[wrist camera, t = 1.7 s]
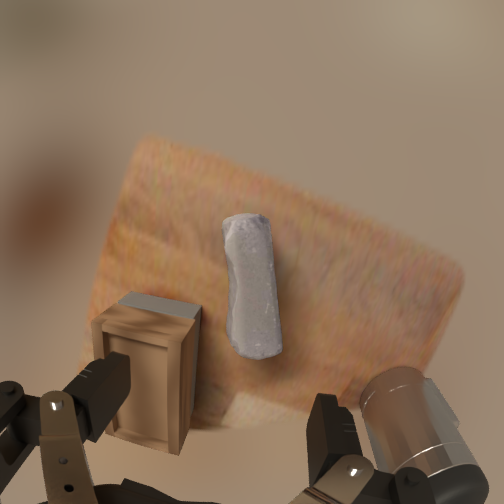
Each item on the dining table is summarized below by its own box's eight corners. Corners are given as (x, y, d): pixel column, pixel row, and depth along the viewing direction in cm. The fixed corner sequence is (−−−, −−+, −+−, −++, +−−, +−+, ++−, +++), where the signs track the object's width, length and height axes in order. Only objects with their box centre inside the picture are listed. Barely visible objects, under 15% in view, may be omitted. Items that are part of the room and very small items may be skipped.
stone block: (283, 318, 34) (283, 366, 25) (238, 319, 35) (223, 367, 25) (276, 206, 32) (274, 215, 22) (228, 209, 33) (206, 220, 23)
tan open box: (195, 319, 32) (180, 343, 26) (189, 427, 35) (178, 455, 30) (115, 302, 32) (91, 321, 27) (122, 409, 35) (105, 433, 30)
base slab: (202, 303, 35) (193, 317, 32) (194, 406, 39) (187, 425, 35) (133, 290, 36) (117, 301, 32) (134, 391, 39) (123, 408, 35)
